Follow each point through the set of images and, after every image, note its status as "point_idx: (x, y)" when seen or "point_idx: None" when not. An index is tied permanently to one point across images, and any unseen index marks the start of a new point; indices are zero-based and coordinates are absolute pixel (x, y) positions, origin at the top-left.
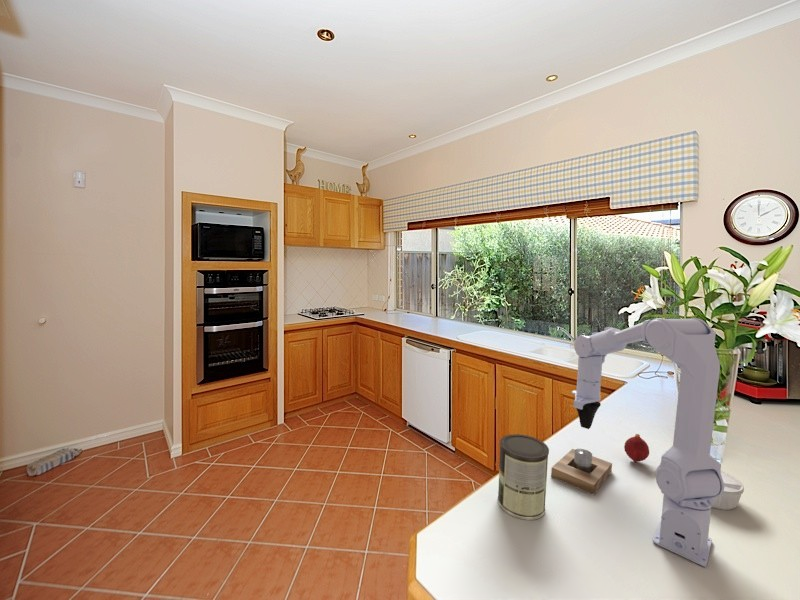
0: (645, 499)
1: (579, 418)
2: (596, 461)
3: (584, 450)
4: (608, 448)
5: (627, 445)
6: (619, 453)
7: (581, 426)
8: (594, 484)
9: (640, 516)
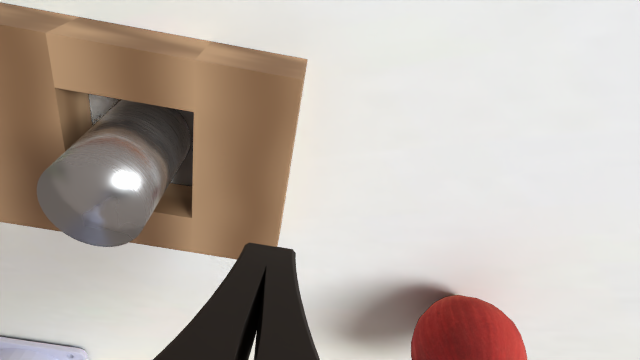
0: (166, 319)
1: (212, 295)
2: (233, 210)
3: (126, 208)
4: (549, 209)
5: (446, 342)
6: (510, 250)
7: (243, 249)
8: (1, 221)
9: (48, 308)
